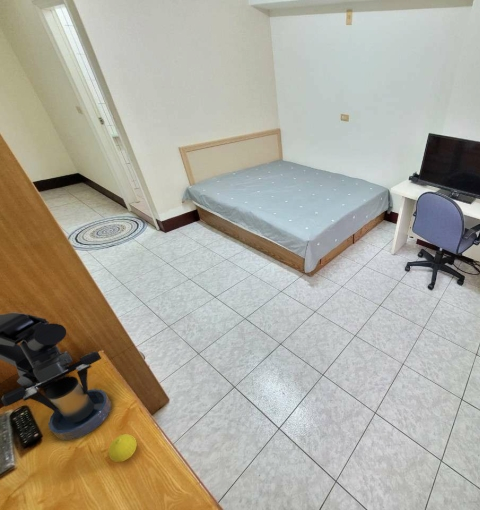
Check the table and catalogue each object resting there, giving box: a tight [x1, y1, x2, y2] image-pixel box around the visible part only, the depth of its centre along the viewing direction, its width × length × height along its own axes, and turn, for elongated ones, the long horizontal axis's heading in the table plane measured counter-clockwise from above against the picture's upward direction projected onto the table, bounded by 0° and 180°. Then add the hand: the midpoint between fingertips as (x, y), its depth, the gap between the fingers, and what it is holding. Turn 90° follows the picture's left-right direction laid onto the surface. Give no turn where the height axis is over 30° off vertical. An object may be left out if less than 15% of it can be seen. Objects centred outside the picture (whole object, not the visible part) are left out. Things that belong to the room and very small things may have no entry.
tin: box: [45, 375, 94, 423], centre depth 73 cm, size 6×6×12 cm
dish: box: [48, 388, 112, 441], centre depth 76 cm, size 12×12×4 cm
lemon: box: [108, 433, 138, 463], centre depth 68 cm, size 6×6×8 cm
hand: (72, 402), depth 72 cm, fingers closed on tin, 6 cm apart
